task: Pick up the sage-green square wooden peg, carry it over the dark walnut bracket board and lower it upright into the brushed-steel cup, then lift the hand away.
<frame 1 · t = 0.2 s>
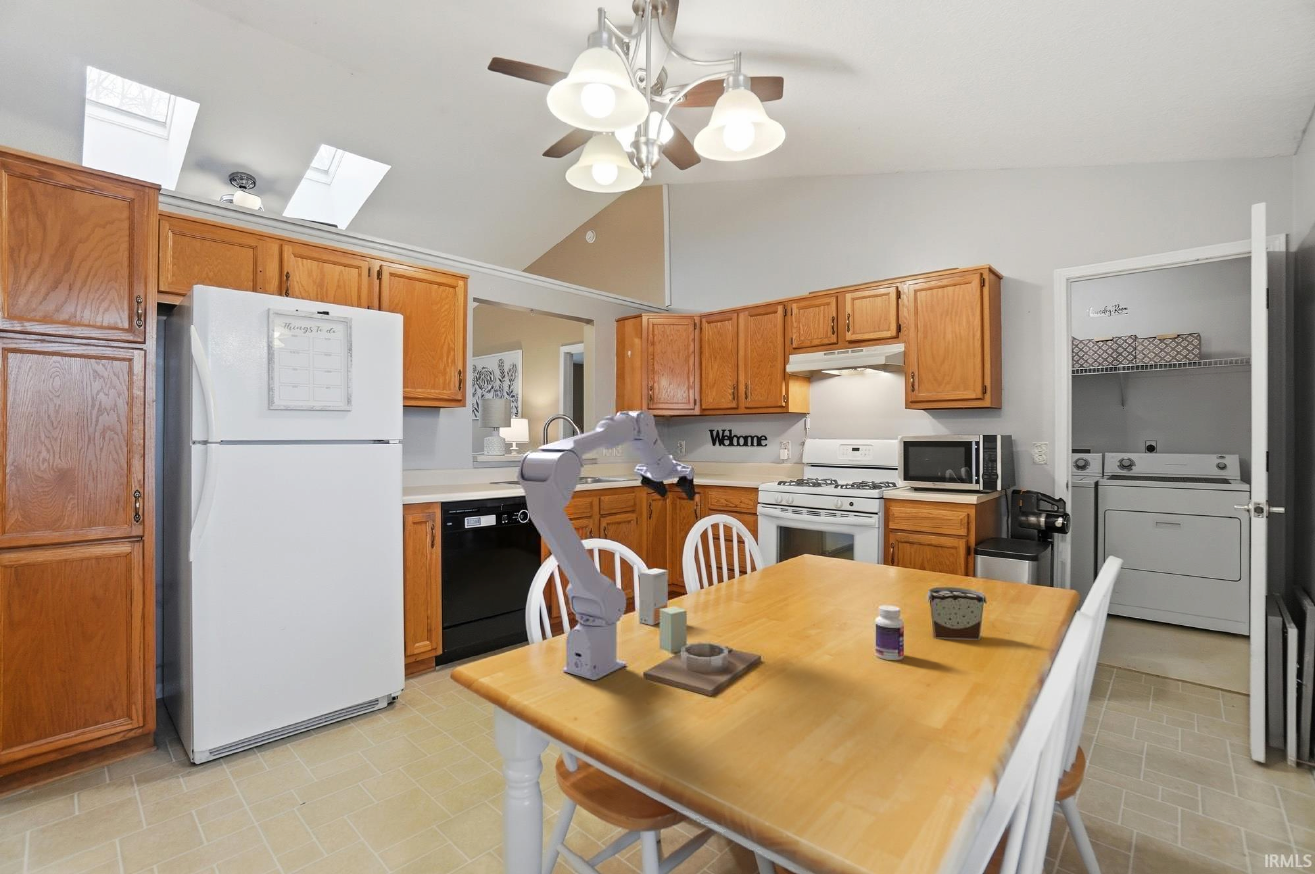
hand: (678, 495, 138), 31 cm above the table, tool tilted 45°, fingers open, 7 cm apart
skincare box: (653, 622, 144), on the table
sage peg: (673, 648, 126), on the table
food container: (951, 635, 135), on the table
cup bracket: (704, 668, 115), on the table
pill bottle: (889, 657, 122), on the table
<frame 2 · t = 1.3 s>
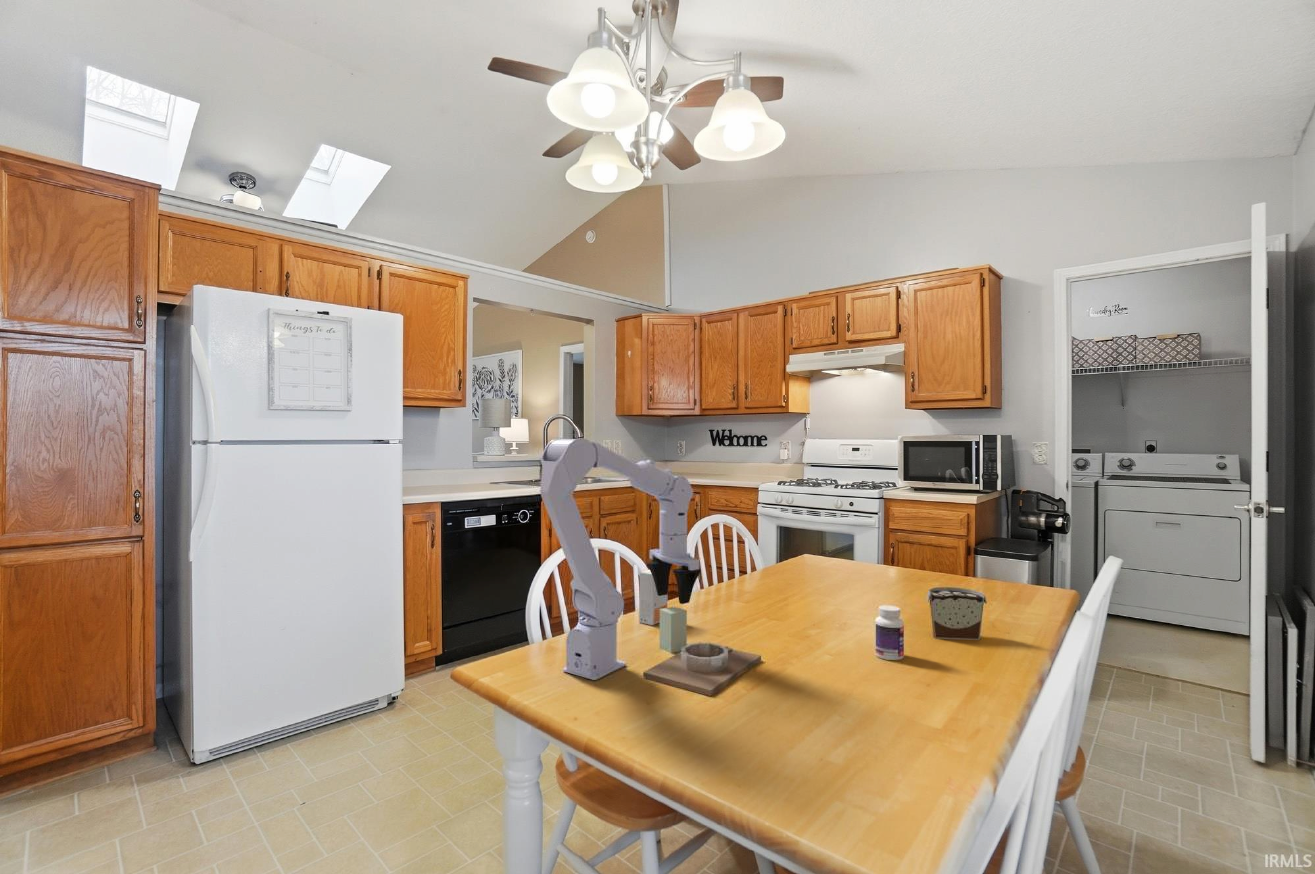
hand: (673, 598, 126), 10 cm above the table, tool pointing down, fingers open, 7 cm apart
nothing on the table moved.
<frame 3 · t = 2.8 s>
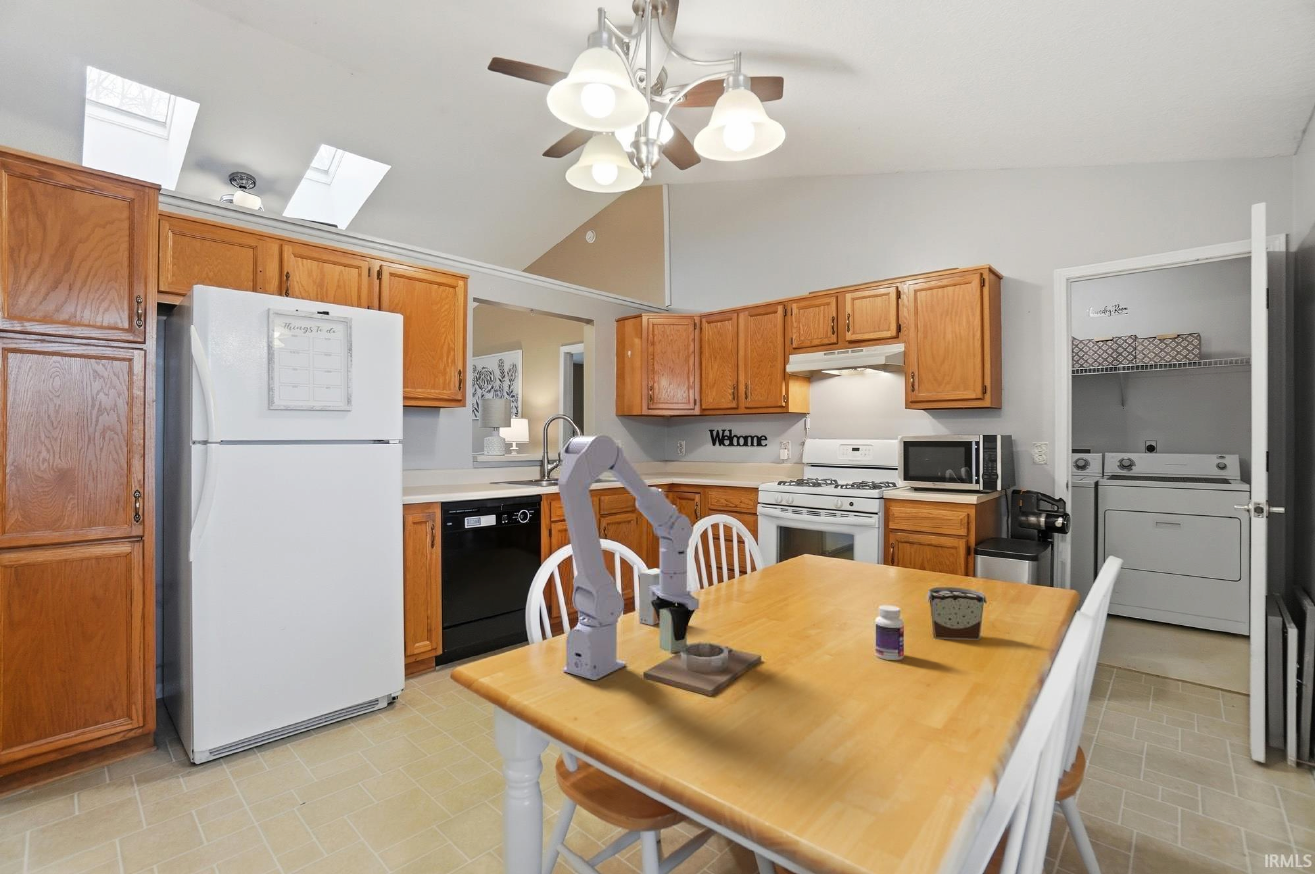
hand: (673, 636, 126), 2 cm above the table, tool pointing down, fingers closed on sage peg, 4 cm apart
sage peg: (673, 648, 126), on the table, touching gripper
everything else where it was.
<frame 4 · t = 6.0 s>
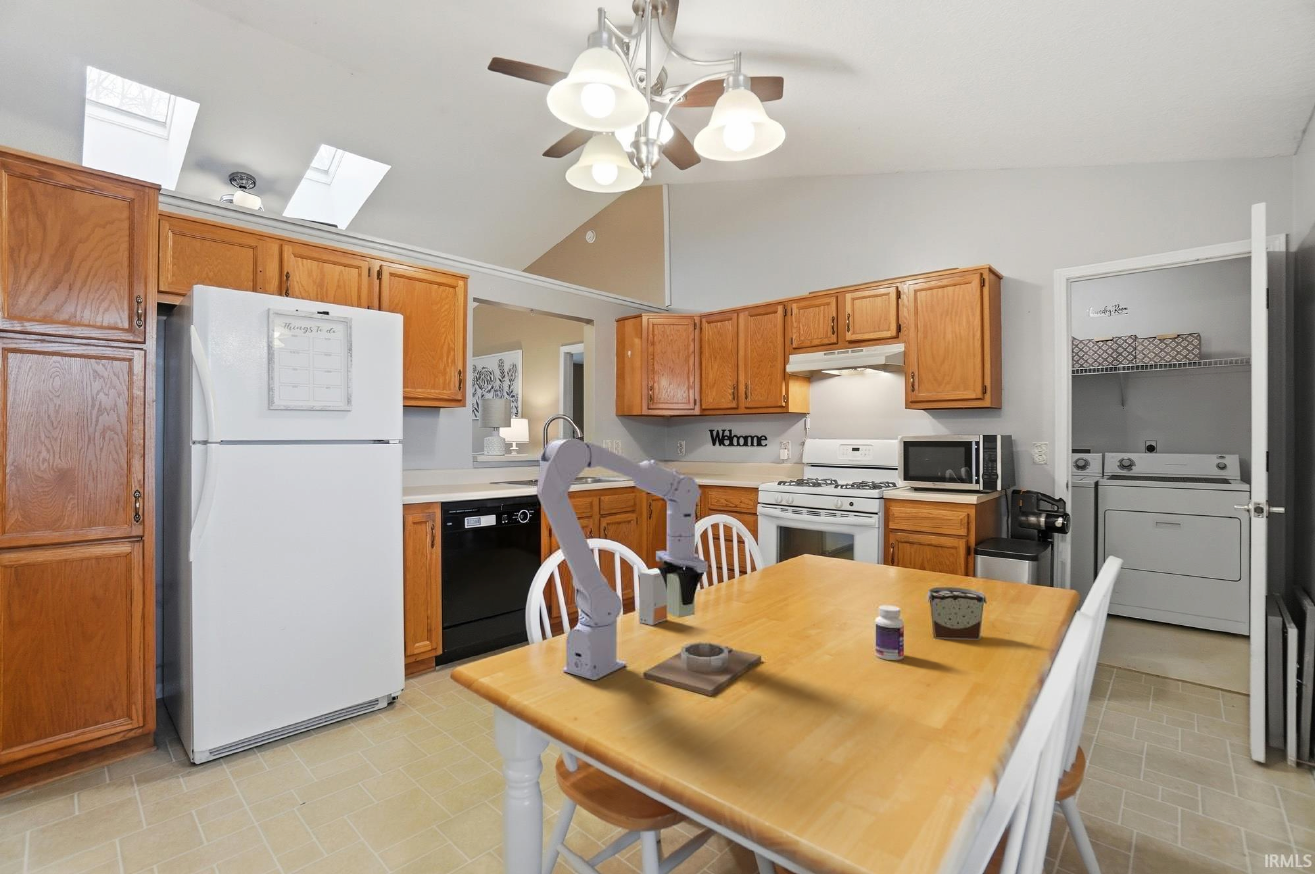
hand: (680, 601, 123), 10 cm above the table, tool pointing down, fingers closed on sage peg, 4 cm apart
sage peg: (680, 613, 123), point 8 cm above the table, touching gripper
everything else where it was.
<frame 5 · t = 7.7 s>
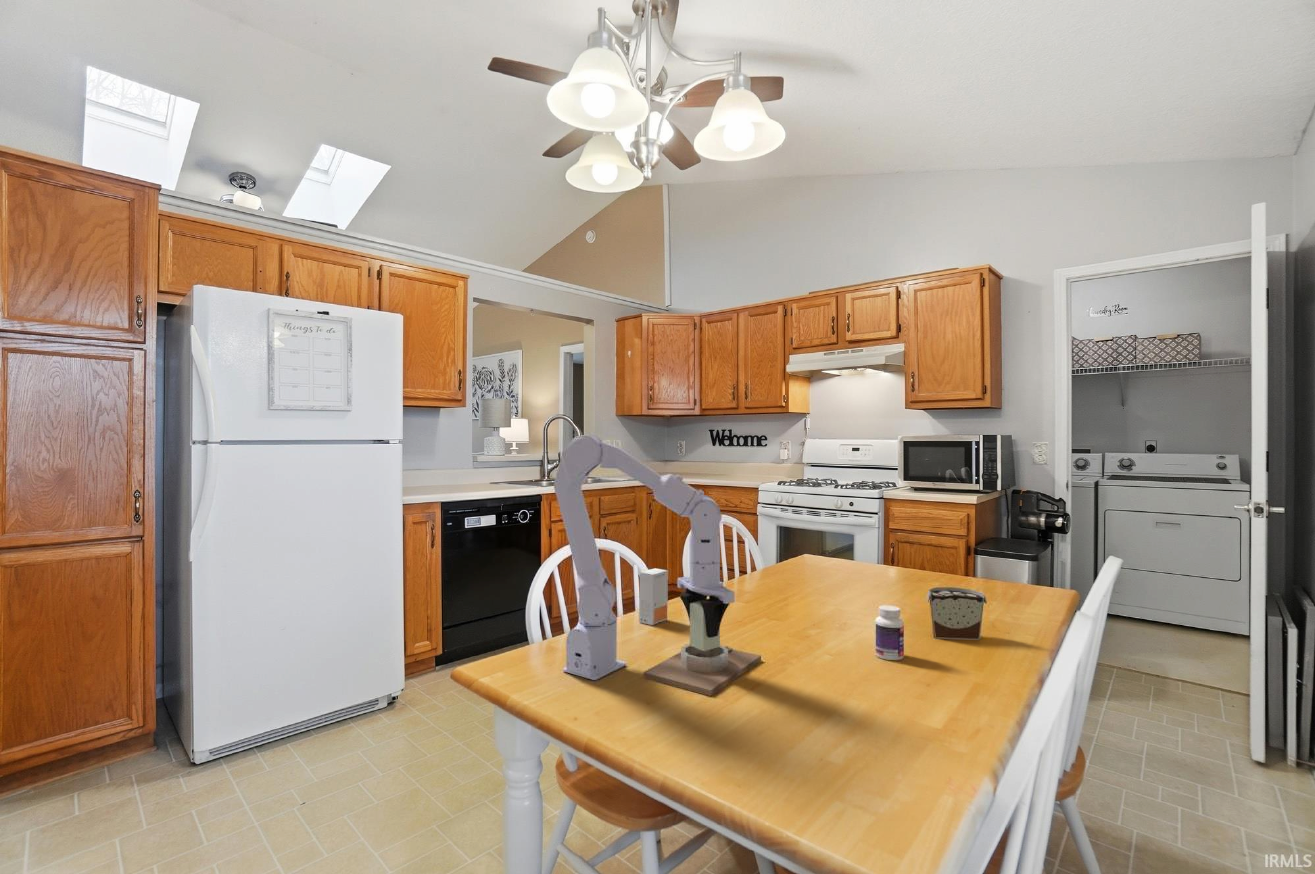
hand: (704, 633, 115), 7 cm above the table, tool pointing down, fingers closed on sage peg, 4 cm apart
sage peg: (704, 646, 115), point 4 cm above the table, touching gripper
everything else where it was.
when the fingers open (4 cm above the table, at t = 9.1 s): sage peg stays where it is, resting on cup bracket.
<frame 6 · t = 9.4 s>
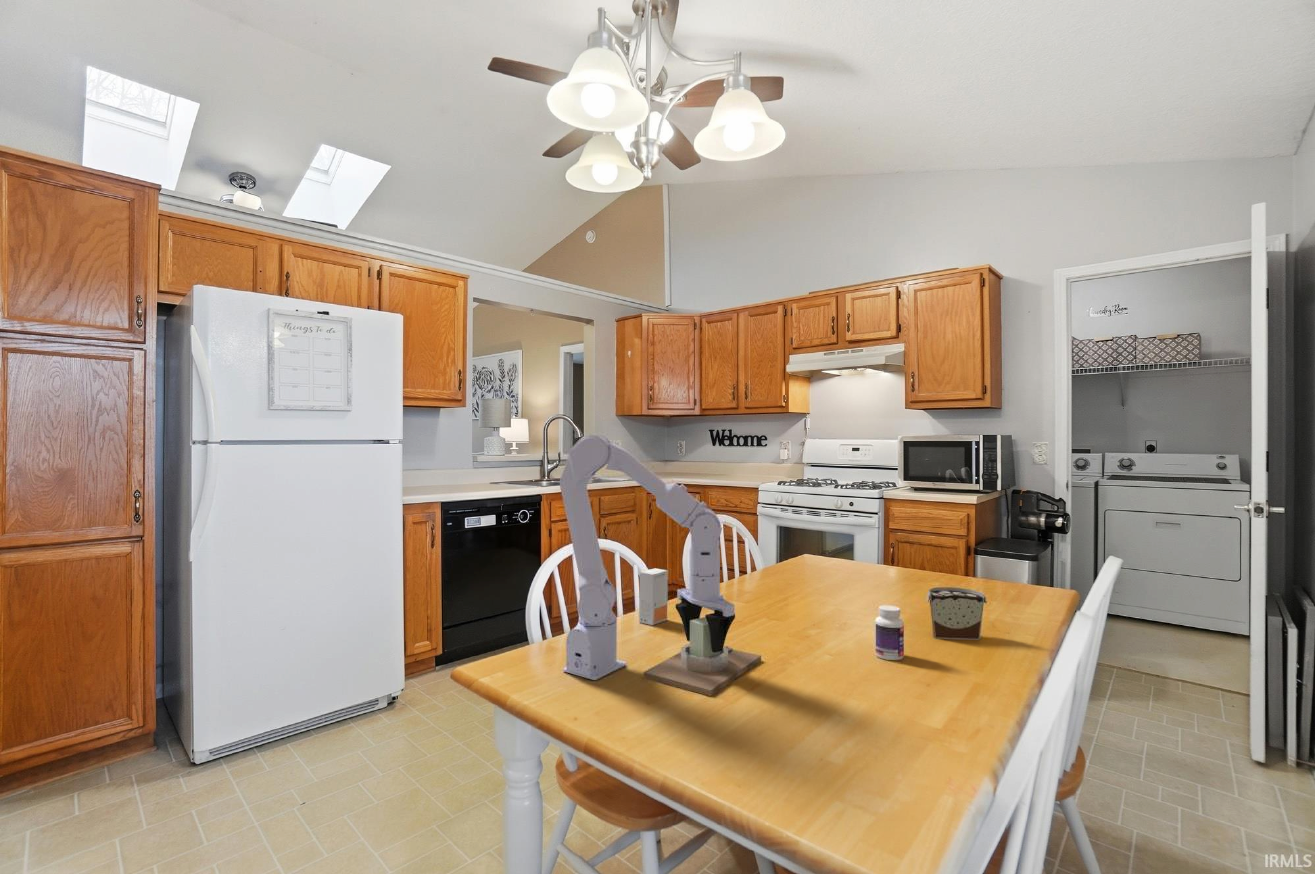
hand: (704, 645, 115), 4 cm above the table, tool pointing down, fingers open, 7 cm apart
sage peg: (704, 663, 115), point 1 cm above the table, touching cup bracket
everything else where it was.
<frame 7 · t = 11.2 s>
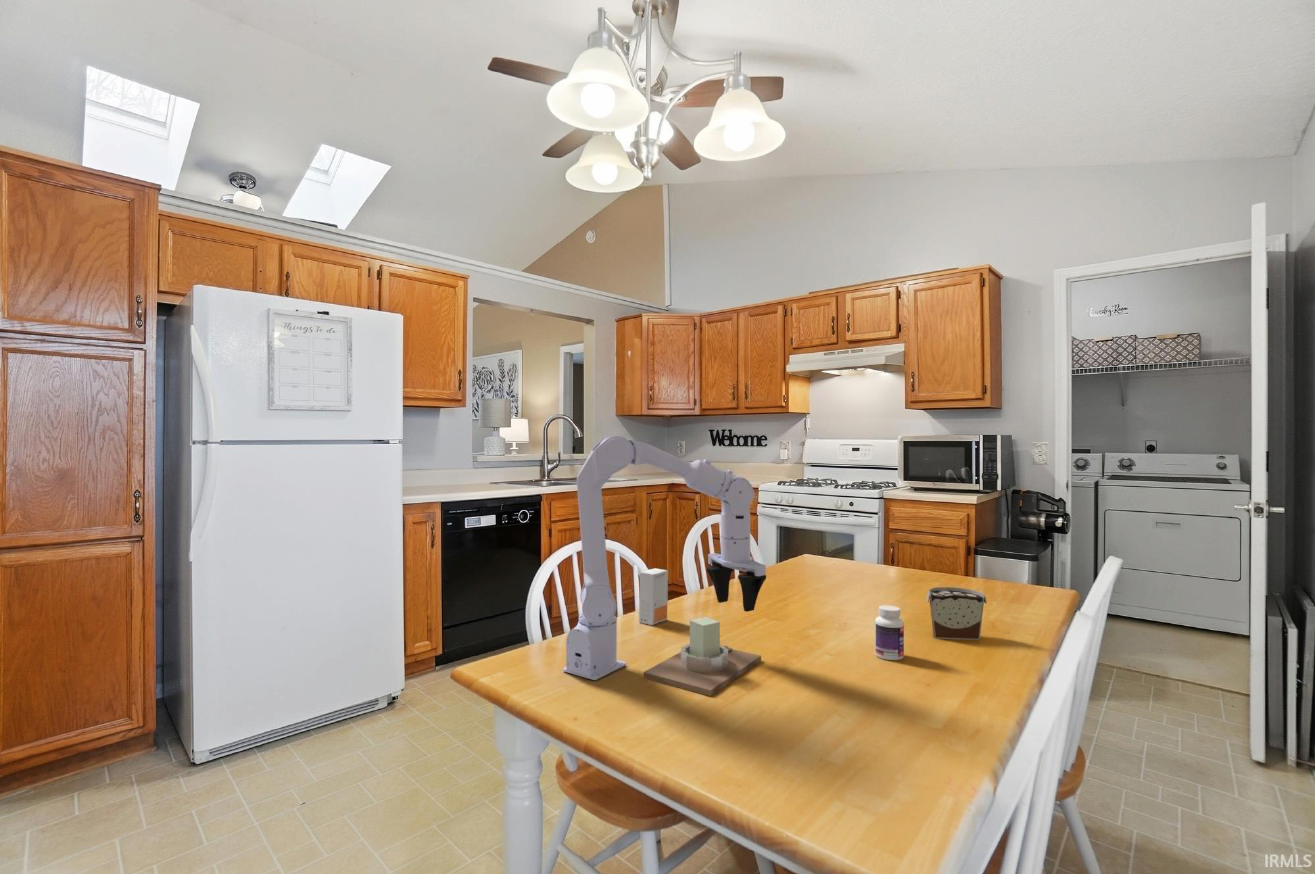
hand: (735, 606, 120), 10 cm above the table, tool pointing down, fingers open, 7 cm apart
nothing on the table moved.
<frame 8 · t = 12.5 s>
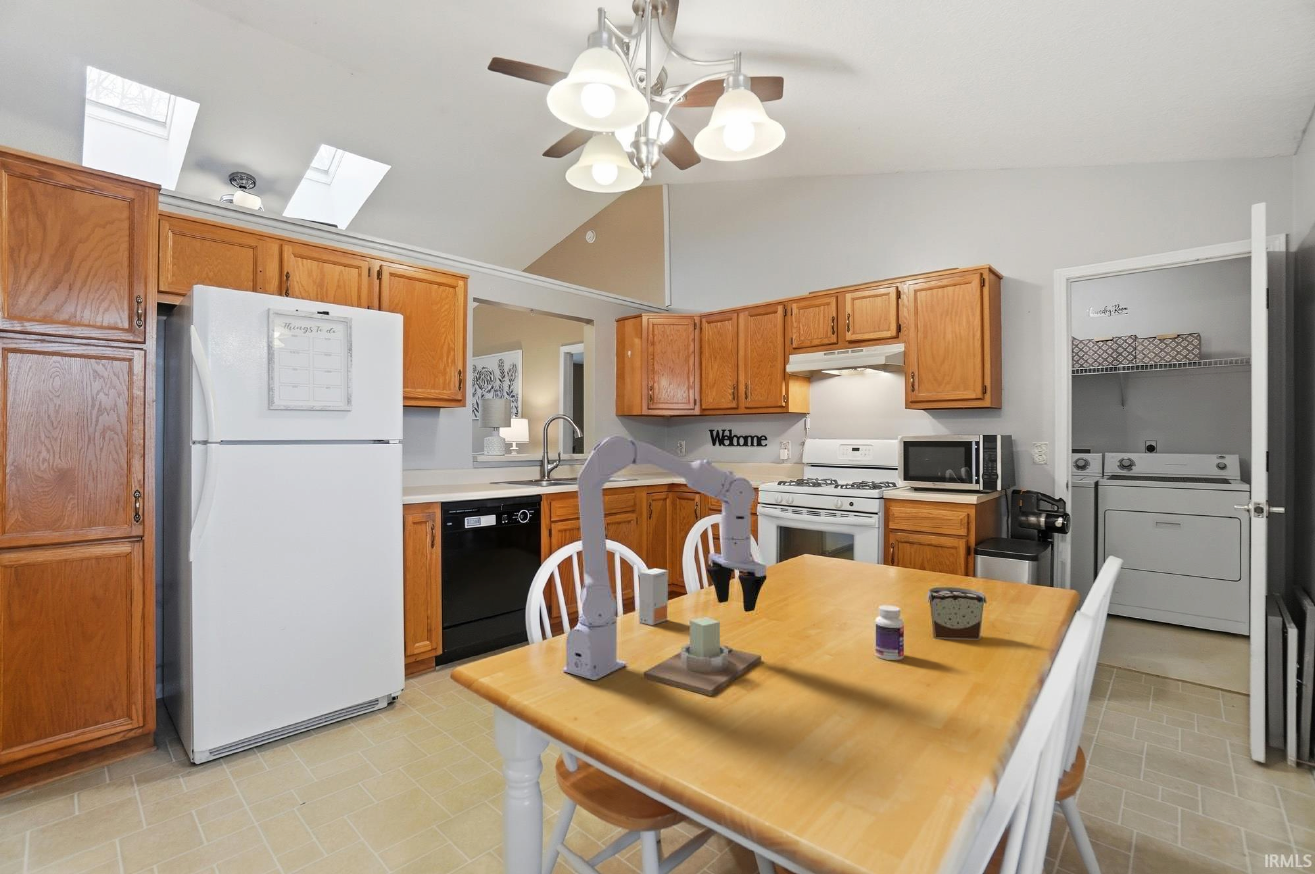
hand: (735, 606, 120), 10 cm above the table, tool pointing down, fingers open, 7 cm apart
nothing on the table moved.
at the end: sage peg 0.1 cm off-centre on the cup bracket, point 1.0 cm above the cup bracket's base; sage peg tilted 0°; the gripper is holding nothing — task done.
